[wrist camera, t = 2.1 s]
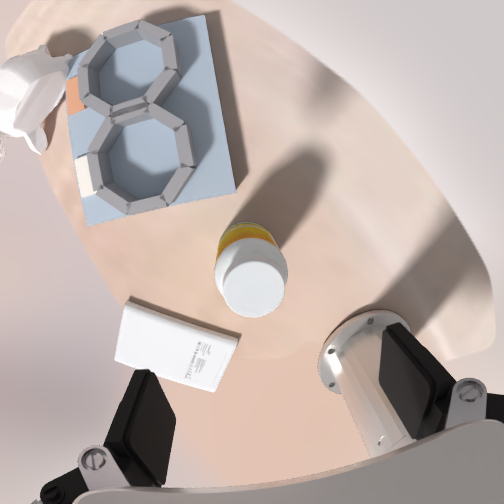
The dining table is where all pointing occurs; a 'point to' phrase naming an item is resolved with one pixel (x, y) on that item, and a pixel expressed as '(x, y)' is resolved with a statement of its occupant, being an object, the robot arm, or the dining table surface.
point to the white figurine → (30, 95)
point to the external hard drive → (173, 347)
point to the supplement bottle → (250, 270)
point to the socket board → (147, 120)
